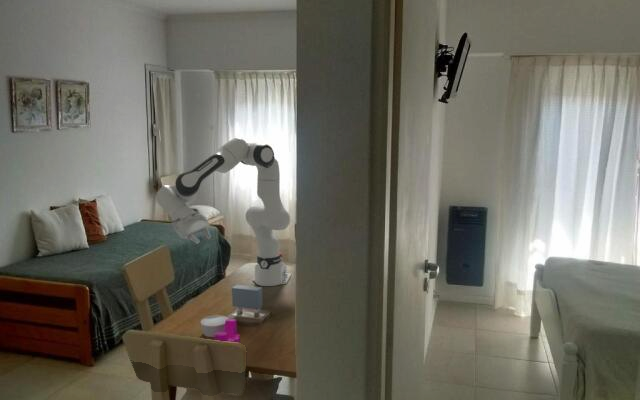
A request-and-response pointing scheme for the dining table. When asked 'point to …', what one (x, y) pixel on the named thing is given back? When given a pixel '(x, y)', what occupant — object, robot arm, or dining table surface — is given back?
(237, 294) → the slate block
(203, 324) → the ramekin
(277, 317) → the dining table surface
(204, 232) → the robot arm
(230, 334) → the toy block
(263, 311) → the peg stand
